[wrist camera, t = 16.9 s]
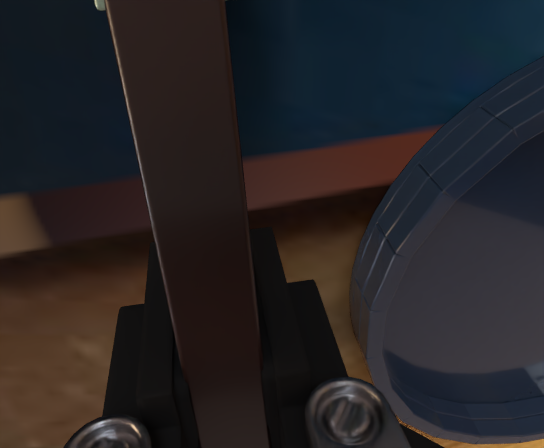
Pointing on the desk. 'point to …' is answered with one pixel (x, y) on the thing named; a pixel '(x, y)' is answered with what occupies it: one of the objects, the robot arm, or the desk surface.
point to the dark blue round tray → (462, 274)
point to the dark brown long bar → (196, 204)
